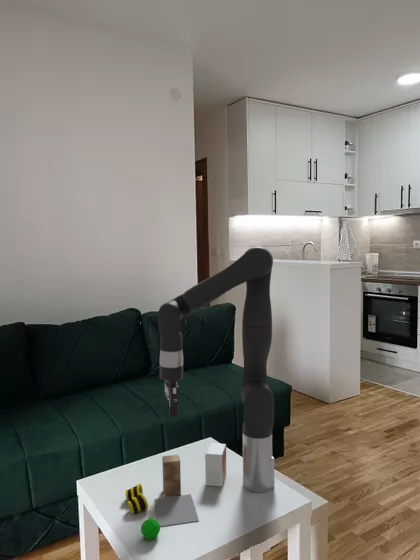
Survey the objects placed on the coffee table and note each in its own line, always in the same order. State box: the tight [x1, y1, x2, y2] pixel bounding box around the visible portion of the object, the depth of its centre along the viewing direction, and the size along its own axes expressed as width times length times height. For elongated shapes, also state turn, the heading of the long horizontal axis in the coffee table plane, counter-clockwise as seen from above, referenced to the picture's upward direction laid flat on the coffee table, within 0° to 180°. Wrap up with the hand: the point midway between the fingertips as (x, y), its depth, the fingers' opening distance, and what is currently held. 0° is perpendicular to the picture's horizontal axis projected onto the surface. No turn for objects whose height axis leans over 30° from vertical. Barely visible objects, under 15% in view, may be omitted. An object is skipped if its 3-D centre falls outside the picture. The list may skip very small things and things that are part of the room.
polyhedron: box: [140, 517, 161, 540], centre depth 115 cm, size 5×5×5 cm
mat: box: [154, 493, 200, 528], centre depth 127 cm, size 11×13×1 cm
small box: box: [204, 442, 227, 487], centre depth 142 cm, size 8×6×10 cm
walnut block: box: [161, 454, 182, 498], centre depth 135 cm, size 5×4×11 cm
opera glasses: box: [125, 483, 149, 515], centre depth 129 cm, size 10×5×5 cm, turn 19°
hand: (171, 412), depth 142 cm, fingers open, 8 cm apart
